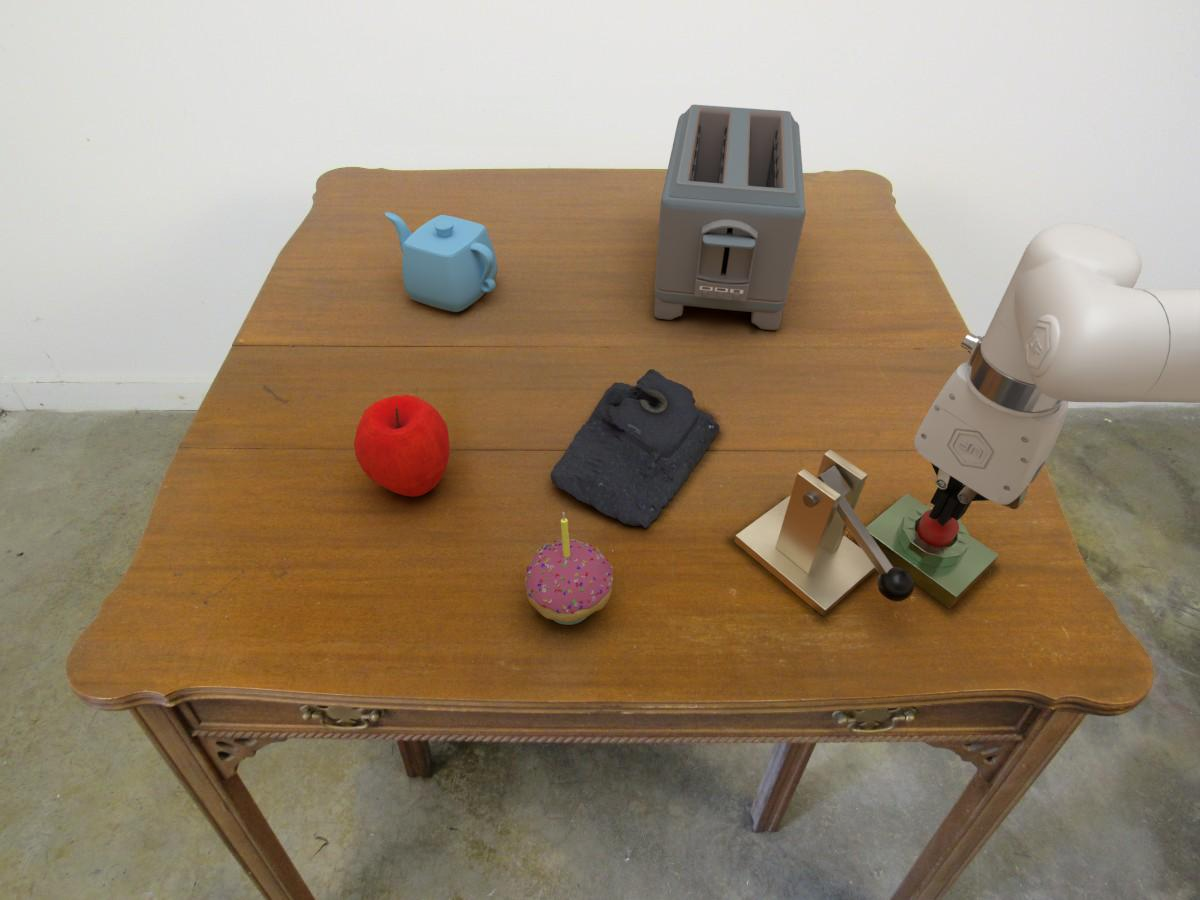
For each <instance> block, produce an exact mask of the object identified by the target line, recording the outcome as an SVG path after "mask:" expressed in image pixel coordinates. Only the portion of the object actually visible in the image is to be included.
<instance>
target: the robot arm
mask: <svg viewBox="0 0 1200 900" xmlns="http://www.w3.org/2000/svg"><path fill="white" fill-rule="evenodd" d="M1142 266H1143V259H1142V256H1141V253H1140V252H1139V250H1138V249H1137V248H1136V246H1135V245H1134V244H1133V243H1132V242H1131V241H1130V240H1129V239H1127V238H1126V237H1124V236H1122V235H1121V234H1119V233H1116V232H1115V231H1112V230H1109V229H1107V228H1104V227H1101V226H1097V225H1093V224H1088V223H1081V222H1063V223H1062V222H1061V223H1057V224H1053V225H1049V226H1047V227H1045V228H1043V229H1042V230H1040V231H1039V232H1038V233H1036V234H1035V235H1034V236H1033V237H1032V238H1031V240H1030V241H1029V243H1028V244H1027V246H1026V247H1025V250H1024V251H1023V254H1022V256H1021V257H1020V259H1019V262H1018V264H1017V266H1016V269H1014V272H1013V274H1012V277H1011V279H1010V281H1009V283H1008V285H1007V287H1006V289H1005V292H1004V294H1003V295H1002V297H1001V300H1000V302H999V304H998V306H997V308H996V311H995V313H994V314H993V317H992V319H991V321H990V323H989V325H988V327H987V329H986V332H985V334H984V335H983V336H981V335H975V334H973V333H971V332H969V333H967V334H966V335H965V337H964V338H963V340H962V341H961V344H960V347H961V348H963V349H965V350H967V353H969V354H970V359H968V360H966V361H965V362H962V363H960V365H958V366H957V368H956V369H955V370H954V371H953V373H952V374H951V375H950V376H949V378H948V379H947V380H946V382H945V384H944V385H943V387H942V388H941V389H940V391H939V393H938V394H937V396H936V398H935V399H934V401H933V402H932V404H931V405H930V408H929V409H928V411H927V413H926V415H925V416H924V418H923V420H922V422H921V423H920V425H919V427H918V429H917V431H916V433H915V436H914V439H913V448H914V449H915V451H916V452H917V453H918V454H919V455H920V456H921V457H922V458H924V459H925V460H926V461H928V462H929V463H930V464H931V466H932V468H933V471H934V473H935V476H936V478H935V485H936V486H937V488H936V490H935V492H934V493H933V495H932V497H931V500H930V504H932V505H933V506H932V507H933V509H932V511H931V513H930V515H929V517H930V518H932V519H933V520H934V519H936V520H937V519H938V520H937V521H938V523H939V524H940V525H942V526H944V525H945V524H946V523H947V522H948V521H949V520H951V519H952V518H954V519H955V520H957V521H958V520H961V518H962V517H964V515H965V514H966V512H967V511H968V509H969V507H970V505H971V504H972V502H986V501H991V502H993V503H996V504H999V505H1001V506H1004V507H1006V508H1009V509H1011V510H1017V509H1018V508H1019V507H1020V506H1021V505H1022V504H1023V503H1025V501H1026V496H1027V493H1028V488H1029V485H1031V484H1033V482H1034V481H1035V480H1036V479H1037V478H1038V476H1039V475H1040V473H1041V472H1042V470H1043V469H1044V467H1045V465H1046V463H1047V461H1048V459H1049V457H1050V455H1051V453H1052V452H1053V449H1054V447H1055V445H1056V443H1057V440H1058V439H1059V436H1060V434H1061V432H1062V429H1063V426H1064V423H1065V421H1066V417H1067V413H1068V409H1069V402H1071V403H1183V404H1185V403H1186V404H1187V403H1188V404H1200V289H1195V288H1194V289H1191V288H1134V287H1135V285H1136V283H1137V281H1138V279H1139V277H1140V275H1141V273H1142V268H1143V267H1142Z"/></svg>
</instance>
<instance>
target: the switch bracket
mask: <svg viewBox="0 0 1200 900" xmlns="http://www.w3.org/2000/svg"><path fill="white" fill-rule="evenodd" d="M832 466H835V467H836V468H837V470H838V471H839V473H840V474H841V475H842V477H843V478H844V480H845V481H846V483H847V484H848V486H849V487H850V488H851V491H849V492H848V493H847V494H846V495H844V497H845V498H846V500H847V501H848V503H849V504H850V505H851V507H852V508H853V510H854V511H855V508H856V506H857V503H858V501H859V498H860V496H861V493H862V490H863V488H864V486H865V483H866V481H867V478H868V476H869V474H867V473H866V472H865V471H863V470H862V469H860V468H859V467H857V466H856V465H855V464H853V463H851V462H850V461H848V460H847V459H846V458H844V457H842V456H841V455H840V454H838V453H837V452H835V451H834V450H833V449H831V448H830V449H829V450H826V452H825V453H823V456H822V459H821V463H820V465H819V468H818V472H817V474H819V473H820V472H822V471H824V470H826V469H828V468H830V467H832ZM815 476H816V475H814V474H812V472H810V471H808V469H805V468H802V469H801V470H800V471H798V472H797V474H796V477H795V479H794V484H793V487H792V490H791V493H790V495H788V496H786V497H785V498H784V499H783V500H781V501H780V502H778V503H777V504H776V505H774V506H773V507H771V508H770V509H769V510H768V511H767V512H765V513H764V514H762V515H761V516H760V517H758V518H757V519H755V520H754V521H753V522H751V523H750V524H748V526H746V527H745V528H744V529H741V531H739V532H738V533H737V534H735V536H734V540H733V542H734V544H736V545H737V546H738V547H739V548H741V550H743V551H744V552H745V553H746V554H747V555H749V556H750V557H752V559H754V560H755V561H756V562H757V563H758V564H760V565H761V566H762V567H763V568H764V569H766V570H767V571H768V572H769V573H770V574H771V575H772V576H774V577H775V578H776V579H777V580H779V581H780V582H781V583H782V584H783V585H785V586H786V587H787V588H788V589H789V590H791V592H793V593H794V594H795V595H796V596H798V597H799V598H800V600H802V601H803V602H805V603H806V604H807V605H808V606H809V607H811V608H812V609H813V610H814V611H815V612H817V613H818V615H820V616H822V617H825V616H826V615H827V614H828V613H829V612H830V611H831V610H832V609H834V608H835V607H836V606H837V605H838V604H839V603H840V602H842V601H843V600H844V599H845V598H846V597H847V596H848V595H849V594H851V593H852V592H853V591H854V590H855V589H856V588H857V587H858V586H860V585H861V584H862V583H863V582H864V581H865V580H867V578H869V577H870V576H871V575H872V574H873V573H874V572H875V571H877V570H876V568H875V567H874V565H873V564H872V563H871V561H870V560H869V558H868V557H867V555H866V554H865V552H864V551H863V549H862V548H861V547H860V545H858V544H856V543H855V542H853V541H852V540H851V539H850V538H848V537H847V536H845V533H846V532H847V530H848V528H847V526H846V525H845V523H844V522H843V520H842V519H841V518H840V516H839V515H838V513H837V512H836V508H837V506H838V503H839V500H840V498H841V495H840V494H839V493H838V492H836V491H835V490H833V489H832V488H831V487H829V486H828V485H826V484H825V483H824V482H822V481H821V480H819V479H818V478H817V477H815Z"/></svg>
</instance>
